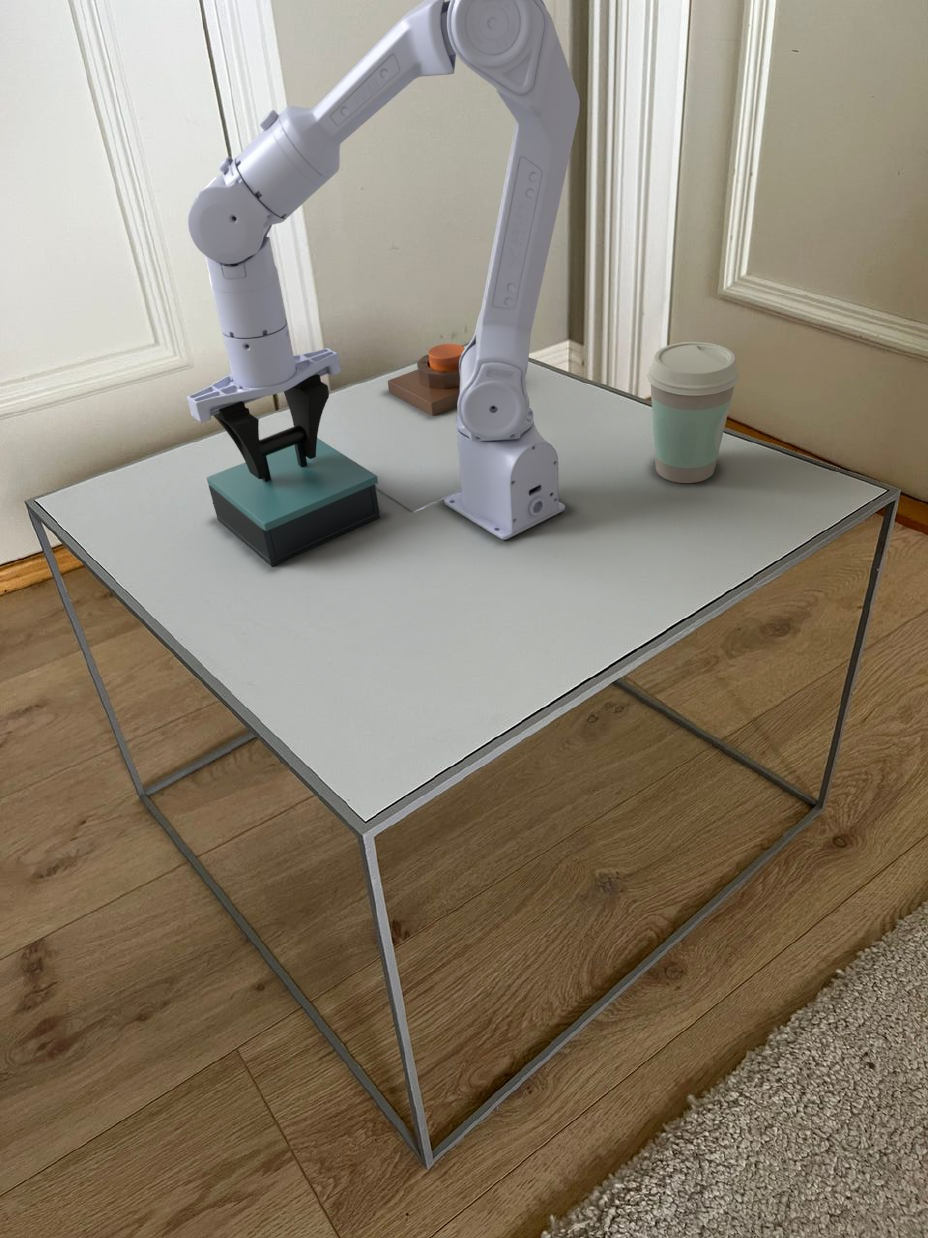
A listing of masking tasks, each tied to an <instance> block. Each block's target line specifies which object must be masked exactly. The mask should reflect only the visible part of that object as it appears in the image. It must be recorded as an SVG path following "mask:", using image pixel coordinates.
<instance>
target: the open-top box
mask: <svg viewBox="0 0 928 1238" xmlns="http://www.w3.org/2000/svg"><path fill="white" fill-rule="evenodd" d="M208 490H209V493H210V497H211V501H212V504H213V507H214V512H215V515H216V518H217V521H218V522H219V523H220V524H221V525H223V526H224V527H225V528H226V529H227V530H228V531H230V532H231V533H232V534H233V535H234V536H235V537H236V538H238V539H239V540H240V541H241V542H242V543H244V544H245V545H246V546H247V547H248V548H249V549H250V550H252V552H254V553H255V554H256V555H258V556H259V557H260V558H261V559H262V560H263V561H264V562H265V563H267V564H268V565H269V566H270V567H274V566H277V565H279V564H281V563H283V562H285V561H288V560H291V559H292V558H294V557H296V556H298V555H301V554H303V553H305V552H307V551H310V550H312V549H315V548H316V547H318V546H321V545H323V544H325V543H328V542H329V541H332V540H334V539H336V538H338V537H341V536H342V535H345V534H347V533H349V532H352V531H354V530H356V529H358V528H360V527H363V526H364V525H367V524H368V523H371V522H373V521H376V520H378V519H380V518H381V514H380V508H379V507H380V506H379V501H378V500H379V499H378V493H377V486H376V484H374V485H372V486H370V487H367V488H365V489H363V490H361V491H358V492H356V493H354V494H351V495H349V496H347V497H344V498H342V499H340V500H337V501H335V502H333V503H331V504H328V505H326V506H324V507H321V508H319V509H317V510H314V511H312V512H310V513H307V514H305V515H303V516H301V517H298V518H296V519H294V520H291V521H289V522H287V523H284V524H282V525H280V526H277V527H275V528H273V529H271V530H268V531H265V530H264V529H262V528H261V527H260V526H259V525H258V524H256V523H255V522H254V521H253V520H251V519H250V518H249V517H248V516H247V515H245V514H244V513H243V512H242V511H240V510H239V509H238V508H237V507H236V506H234V505H233V504H232V503H231V502H229V501H228V500H227V499H226V498H225V497H223V496H222V495H221V494H220V493H218V492H217V491H216V490H215V489H214V488H212V487H211V486H210V485H209V484H208Z"/></svg>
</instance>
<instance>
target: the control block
mask: <svg viewBox="0 0 928 1238" xmlns="http://www.w3.org/2000/svg"><path fill="white" fill-rule="evenodd" d="M416 368H417V369H415V370H412V371H409V372H406V373H404V374H401V375H399V376H396V377H393V378H391V379H388V380H387V387H388V394H390V395H392V396H393V397H395V398H397V399H399V400H401V401H403V402H405V403H407V404H408V405H411V406H412V407H414V408H416V409H419V410H421V412H424V413H426V414H428V415H429V416H432V417H434V416H437V415H440V414H441V413H444V412H446V411H448V410H452V409H454V408H457V402H458V398H459V395H460V375H459V369H456V370H448V371H441V370H434V369H432V368H430V363H429V353H428V354H426V355H425V354H424V355H423V356H422V357H421V358H420V359H419V360H418V361H417V362H416Z"/></svg>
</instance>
